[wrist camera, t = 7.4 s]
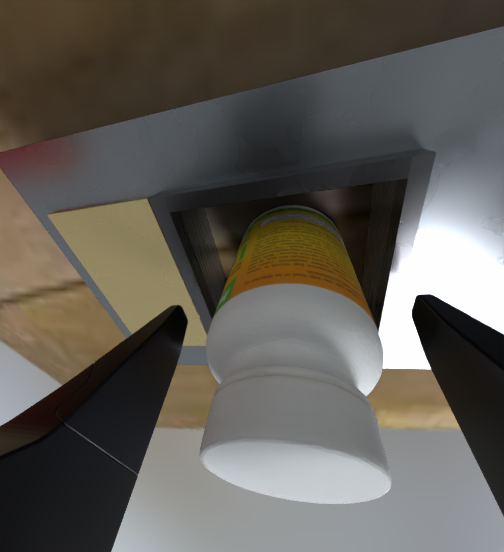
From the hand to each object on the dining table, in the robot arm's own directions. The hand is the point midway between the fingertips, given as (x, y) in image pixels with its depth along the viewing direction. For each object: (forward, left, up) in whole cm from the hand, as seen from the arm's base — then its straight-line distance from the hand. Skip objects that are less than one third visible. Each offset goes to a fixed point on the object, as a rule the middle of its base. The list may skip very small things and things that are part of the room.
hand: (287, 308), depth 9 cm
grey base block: (0, 0, -4) cm, 4 cm away
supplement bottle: (0, 0, -5) cm, 5 cm away
